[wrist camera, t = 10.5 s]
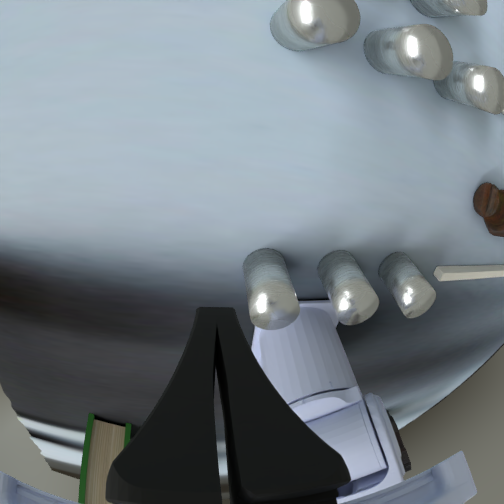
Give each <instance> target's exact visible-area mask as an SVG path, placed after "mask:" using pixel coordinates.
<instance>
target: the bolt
mask: <svg viewBox="0 0 504 504" xmlns="http://www.w3.org/2000/svg"><path fill="white" fill-rule="evenodd" d="M473 203H474V209H475V211H476V212H477V213H478V214H479V215H481V216H482V217H484V221H485V223H486V226H487V228H488V230H489V233H491V234H492V235H494V236H500V237H504V190H499V189H498V188H497V187H496V186H495V185H494V184H493V185H492V184H491V183H484V184H482V185H481V186H480V187H479V188H478V189H477V191H476V193H475V195H474V201H473Z"/></svg>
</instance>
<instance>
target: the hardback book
mask: <svg viewBox="0 0 504 504" xmlns="http://www.w3.org/2000/svg"><path fill="white" fill-rule="evenodd" d="M130 435H131V424H129V423H126V427H122V426H118V425H114V424H110V423H106V422H102V421H99V420H95V416H94V414H91V413H89V416H88V422H87V428H86V434H85V441H84V448H83V456H82V464H81V474H80V485H79V501H78V503H80V504H112V503H109V502H107V501H106V499H105V491H106V480H107V475H108V472H109V469H110V467H111V464H112V462H113V460H114V459H115V458H116V457H117V456H118V455H119V453H120V452H121V451H122V450H123V449H124V448H125V447H126V445H127V444H128V443H129V442H130Z"/></svg>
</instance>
